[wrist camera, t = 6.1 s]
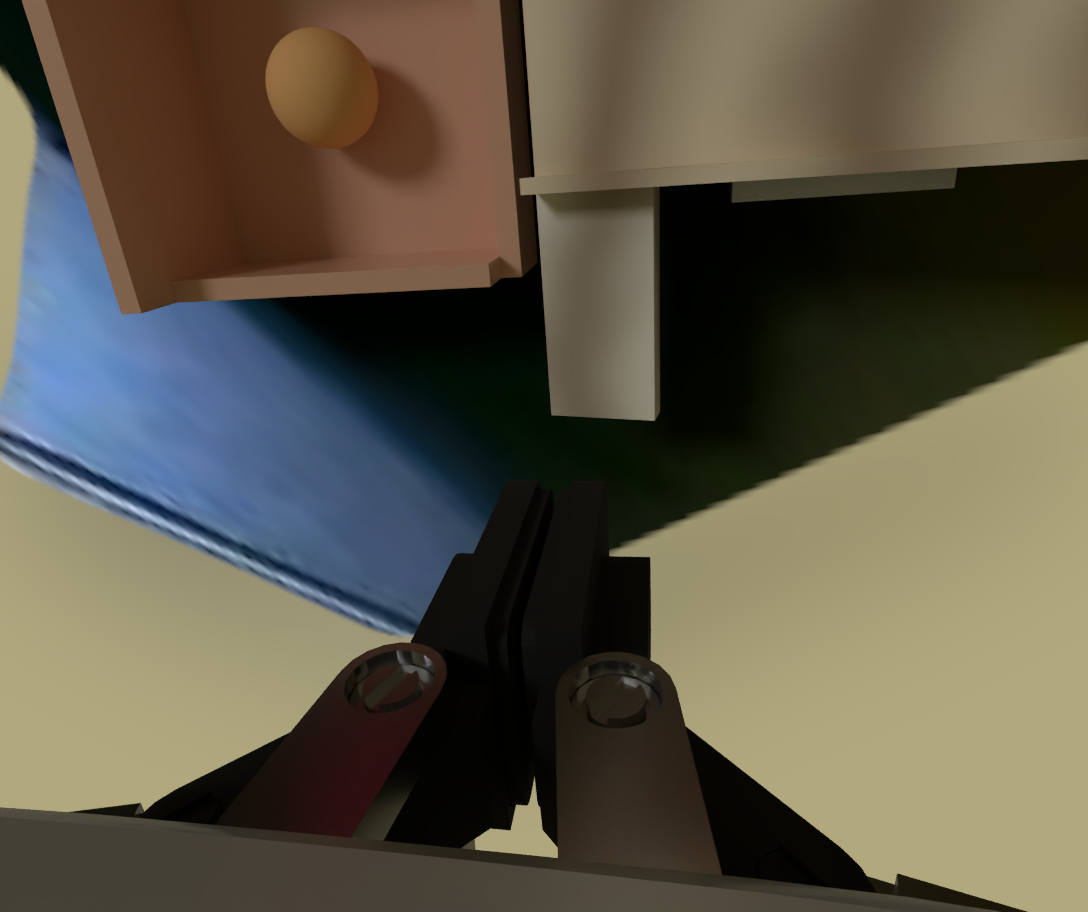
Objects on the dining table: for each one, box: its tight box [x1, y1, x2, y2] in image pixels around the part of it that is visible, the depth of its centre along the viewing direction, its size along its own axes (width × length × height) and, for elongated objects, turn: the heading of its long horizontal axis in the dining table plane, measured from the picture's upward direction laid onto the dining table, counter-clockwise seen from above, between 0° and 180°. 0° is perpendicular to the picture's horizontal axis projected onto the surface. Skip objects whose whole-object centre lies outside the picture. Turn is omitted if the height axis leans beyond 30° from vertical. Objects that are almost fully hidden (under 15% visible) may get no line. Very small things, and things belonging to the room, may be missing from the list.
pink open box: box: [22, 0, 538, 314], centre depth 24 cm, size 14×14×8 cm
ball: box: [265, 27, 378, 149], centre depth 25 cm, size 4×4×4 cm
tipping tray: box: [519, 0, 1088, 421], centre depth 19 cm, size 22×16×6 cm
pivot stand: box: [728, 168, 957, 203], centre depth 22 cm, size 8×10×6 cm
